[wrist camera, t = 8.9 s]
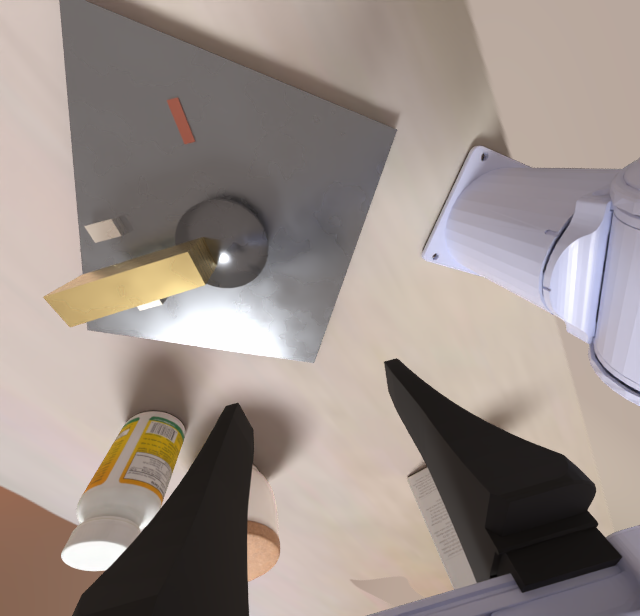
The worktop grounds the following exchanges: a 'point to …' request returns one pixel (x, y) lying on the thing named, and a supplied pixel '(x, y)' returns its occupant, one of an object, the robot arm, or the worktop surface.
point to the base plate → (213, 180)
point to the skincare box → (441, 529)
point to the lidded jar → (261, 527)
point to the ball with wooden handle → (173, 264)
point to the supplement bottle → (125, 490)
